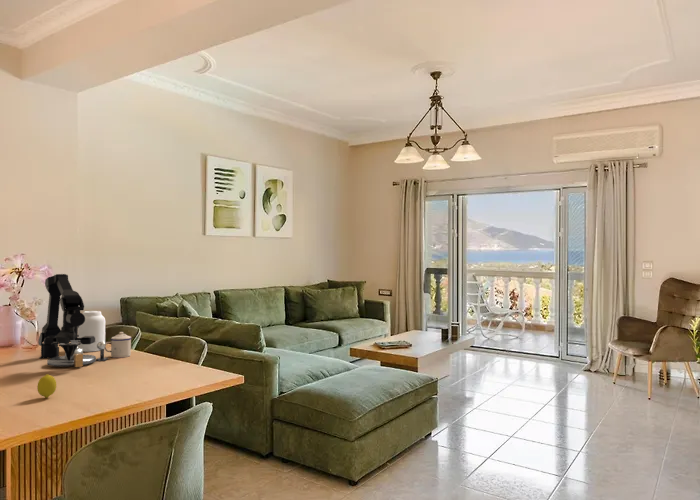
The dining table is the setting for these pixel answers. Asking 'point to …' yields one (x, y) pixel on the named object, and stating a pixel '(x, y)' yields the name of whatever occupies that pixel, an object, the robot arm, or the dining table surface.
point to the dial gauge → (101, 351)
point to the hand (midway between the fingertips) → (69, 360)
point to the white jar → (92, 330)
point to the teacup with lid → (120, 346)
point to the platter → (71, 361)
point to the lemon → (46, 386)
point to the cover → (78, 351)
